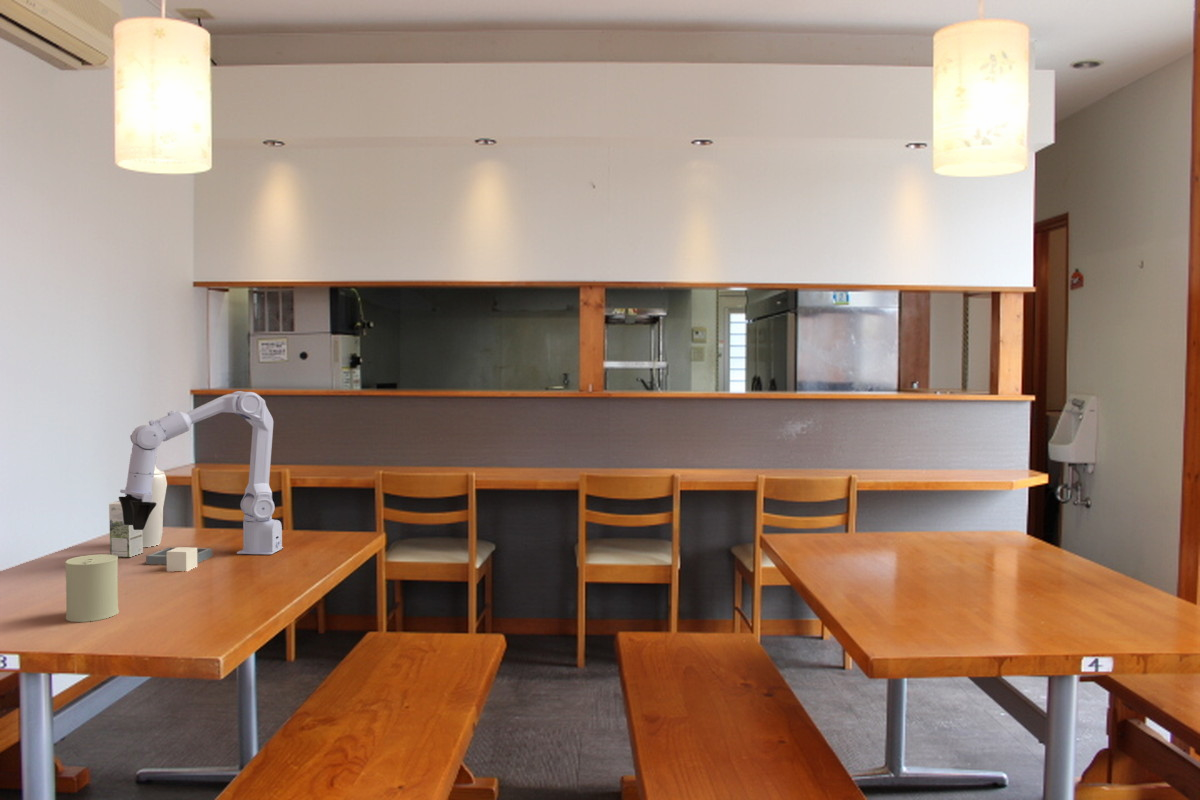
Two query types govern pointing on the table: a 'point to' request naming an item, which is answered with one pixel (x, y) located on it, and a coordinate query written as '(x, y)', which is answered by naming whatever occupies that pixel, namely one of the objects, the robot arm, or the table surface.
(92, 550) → the table surface
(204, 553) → the slate dish
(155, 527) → the spray can
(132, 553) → the syrup box
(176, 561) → the cream cube
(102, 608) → the can
